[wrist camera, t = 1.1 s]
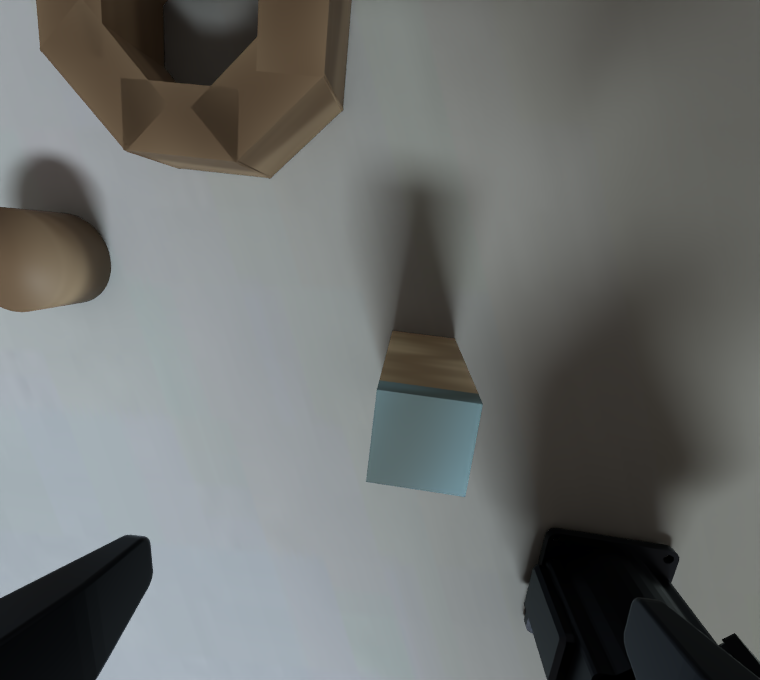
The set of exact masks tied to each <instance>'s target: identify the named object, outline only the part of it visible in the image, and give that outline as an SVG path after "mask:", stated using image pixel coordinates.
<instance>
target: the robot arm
mask: <svg viewBox="0 0 760 680" xmlns="http://www.w3.org/2000/svg"><path fill="white" fill-rule="evenodd" d="M555 538H559V539H558V540H554V539H555ZM667 555H668V556H667ZM665 556H667V557H665ZM664 557H665V558H664ZM678 562H679V556H678V554H677V553H676V552H675V551H674V550H673V548H671V547H670V546H667V545H662V544H655V543H649V542H642V541H636V540H630V539H623V538H617V537H610V536H604V535H597V534H591V533H585V532H578V531H572V530H565V529H559V528H553V529H550V530H548V531H547V532H546V534H545V538H544V542H543V546H542V550H541V554H540V558H539V562H538V564H536V565H535V567H534V568H533V571H532V575H531V579H530V583H529V587H528V591H527V595H526V599H525V603H524V605H525V608H526V613H525V617H524V622H525V625H526V628H527V630H528V631H529V632H530V633H533V635H534V638H535V641H536V645H537V648H538V651H539V654H540V658H541V661H542V664H543V668H544V671H545V674H546V678H547V680H760V662H759V660H758V659H757V658H756V657H755V656H754V655H753V654H752V652H751V651H750V650H749V649H748V648H747V647H746V645H745V644H744V643H743V642H742V641H741V640H740V639H739V637H738V636H737V635H736V634H735V633H734V634H732V635H730V636H728V637H726V638H724V639H722V641H723V642H724V643H722V644H720V645H718V644H717V643H716V642H715V641H714V639H713V638H712V637H711V635H710V634H709V633H708V631H707V630H706V629H705V627H704V626H703V625H702V623H701V622H700V621H699V619H698V618H697V617H696V616H695V614H694V613H693V612H692V610H691V609H690V608H689V606H688V605H687V604H686V602H685V601H684V600H683V598H682V597H681V596H680V594H679V593H678V592H677V590H676V589H675V588H674V587H673V585H672V584H671V582H672V579H673V576H674V573H675V571H676V568H677V565H678ZM152 575H153V566H152V556H151V545H150V541H149V539H148V538H147V537H144V536H137V535H125V536H123V537H121V538H119V539H117V540H115V541H113V542H111V543H109V544H107V545H105V546H103V547H101V548H99V549H97V550H95V551H93V552H91V553H89V554H87V555H85V556H83V557H81V558H79V559H77V560H75V561H73V562H71V563H69V564H67V565H65V566H63V567H61V568H59V569H57V570H55V571H53V572H51V573H49V574H47V575H45V576H43V577H41V578H40V579H38V580H36V581H34V582H32V583H30V584H28V585H26V586H24V587H22V588H20V589H18V590H16V591H14V592H12V593H10V594H8V595H6V596H4V597H2V598H0V680H96V678H97V677H98V675H99V674H100V672H101V670H102V668H103V667H104V665H105V663H106V662H107V660H108V658H109V656H110V655H111V653H112V651H113V649H114V648H115V646H116V644H117V642H118V640H119V639H120V637H121V635H122V633H123V631H124V630H125V628H126V626H127V624H128V623H129V621H130V619H131V617H132V615H133V614H134V612H135V610H136V608H137V607H138V605H139V603H140V601H141V599H142V598H143V596H144V594H145V592H146V591H147V589H148V587H149V585H150V582H151V579H152Z"/></svg>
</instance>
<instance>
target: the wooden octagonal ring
mask: <svg viewBox="0 0 760 680" xmlns="http://www.w3.org/2000/svg"><path fill="white" fill-rule="evenodd" d="M167 1H168V0H36V4H37V16H38V28H39V40H40V51H41V52H43V54H44V55H45V56H46V57H47V58H48V60H49V61H50V62H51V63H52V64H53V65H54V67H55V68H56V69H57V70H58V71H59V73H60V74H61V75H62V76H63V77H64V79H65V80H66V81H67V82H68V83H69V84H70V86H71V87H72V88H73V89H74V90H75V92H76V93H77V94H78V95H79V96H80V98H81V99H82V100H83V101H84V102H85V103H86V105H87V106H88V107H89V108H90V109H91V111H92V112H93V113H94V114H95V115H96V117H97V118H98V119H99V120H100V121H101V122H102V124H103V125H104V126H105V127H106V128H107V130H108V131H109V132H110V133H111V134H112V136H113V137H114V138H115V139H116V140H117V141H118V143H119V144H120V145H121V146H122V147H123V150H125V151H127V152H130V153H133V154H136V155H139V156H142V157H145V158H148V159H151V160H154V161H157V162H160V163H163V164H166V165H169V166H172V167H175V168H178V169H181V168H182V169H191V170H200V171H209V172H219V173H228V174H237V175H246V176H256V177H265V178H269V179H270V178H272V176H273V175H274V174H275V173H277V172H278V171H279V170H280V169H281V168H282V167H283V166H284V165H285V164H286V163H287V162H288V161H289V160H290V159H291V158H292V157H294V156H295V155H296V154H297V153H298V152H299V151H300V150H301V149H302V148H303V147H304V146H305V145H306V144H307V143H308V142H309V141H310V140H312V139H313V138H314V137H315V136H316V135H317V134H318V133H319V132H320V131H321V130H322V129H323V128H324V127H325V126H326V125H327V124H329V123H330V122H331V121H332V120H333V119H334V118H335V117H336V116H337V115H338V114H339V113H340V112H341V111H343V99H344V87H345V74H346V62H347V49H348V37H349V24H350V12H351V0H258V31H257V37H256V38H255V40H254V41H253V42H252V43H251V44H250V45H249V46H248V47H247V48H246V49H245V50H244V51H243V52H242V53H241V54H240V55H239V57H238V58H237V59H236V60H235V61H234V62H233V63H232V64H231V65H230V66H229V67H228V68H227V69H226V70H225V71H224V72H223V73H222V75H221V76H220V77H219V78H218V79H217V80H216V81H215V82H214V83H213V84H212V85H211V86H205V85H194V84H183V83H176V82H175V80H174V79H173V78H172V77H171V75H170V74H169V73H168V72H167V70H166V69H165V68H164V20H163V5H164V4H165V3H166V2H167Z"/></svg>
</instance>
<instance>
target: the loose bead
mask: <svg viewBox="0 0 760 680" xmlns="http://www.w3.org/2000/svg"><path fill="white" fill-rule="evenodd" d="M110 273H111V261H110V255H109V251H108V249H107V246H106V244H105V242H104V240H103V238H102V237H101V235H100V234H99V233H98V232H97V230H96V229H95V228H94V227H93V226H92V225H90V224H89V223H88V222H87V221H85V220H83V219H82V218H80V217H78V216H75V215H72V214H67V213H58V212H48V211H37V210H27V209H16V208H6V207H0V307H2V308H4V309H7V310H10V311H15V312H29V311H35V310H41V309H47V308H53V307H59V306H65V305H70V304H76V303H82V302H87V301H90V300H92V299H94V298H96V297H97V296H98V295H100V294H101V293H102V291H103V290H104V289H105V287H106V286H107V283H108V281H109V278H110Z"/></svg>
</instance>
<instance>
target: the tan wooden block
mask: <svg viewBox="0 0 760 680" xmlns="http://www.w3.org/2000/svg"><path fill="white" fill-rule="evenodd" d="M482 406H483V404H482V401H481V399H480V397H479V394H478V392H477V390H476V387H475V385H474V382H473V380H472V378H471V375H470V373H469V371H468V368H467V366H466V364H465V361H464V359H463V357H462V354H461V352H460V350H459V347H458V345H457V343H456V340H455V339H454V338H446V337H438V336H431V335H423V334H415V333H407V332H400V331H392V335H391V339H390V342H389V346H388V350H387V354H386V357H385V361H384V365H383V369H382V373H381V376H380V380H379V384H378V388H377V393H376V402H375V410H374V419H373V427H372V436H371V444H370V453H369V461H368V470H367V478H366V482H371V483H377V484H384V485H390V486H397V487H404V488H410V489H417V490H423V491H430V492H436V493H443V494H450V495H456V496H463V497H465V495H466V490H467V485H468V479H469V474H470V469H471V464H472V458H473V453H474V448H475V443H476V437H477V432H478V427H479V421H480V416H481V411H482Z"/></svg>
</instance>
